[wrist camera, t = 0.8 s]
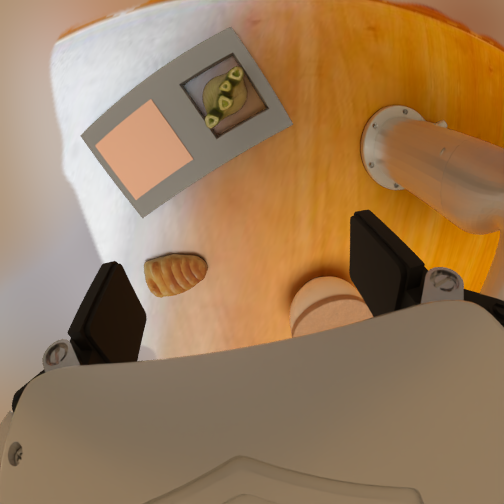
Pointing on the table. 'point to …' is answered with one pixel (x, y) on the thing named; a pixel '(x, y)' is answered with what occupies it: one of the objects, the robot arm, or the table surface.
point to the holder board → (178, 127)
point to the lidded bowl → (326, 306)
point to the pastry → (174, 274)
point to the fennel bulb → (224, 96)
